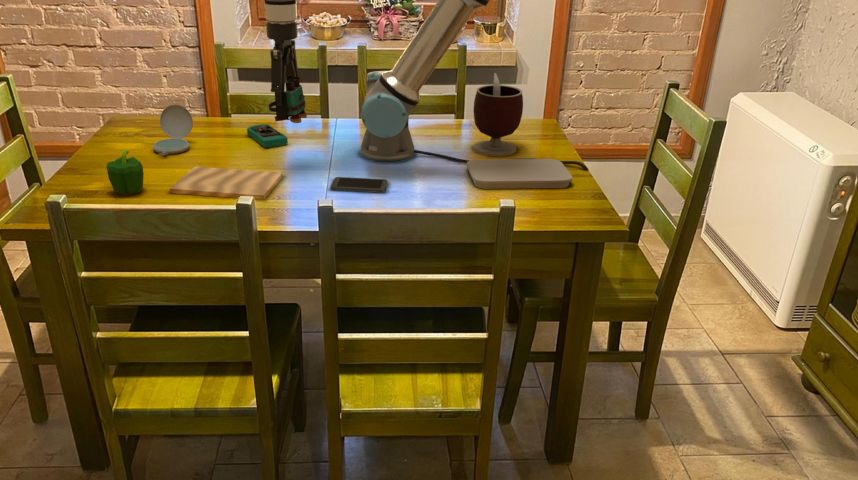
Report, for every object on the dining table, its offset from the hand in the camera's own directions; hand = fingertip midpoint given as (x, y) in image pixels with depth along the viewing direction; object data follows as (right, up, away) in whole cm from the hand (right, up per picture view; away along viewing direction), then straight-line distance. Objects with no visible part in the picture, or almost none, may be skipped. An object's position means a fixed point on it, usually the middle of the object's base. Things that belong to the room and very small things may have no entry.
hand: (287, 112), depth 191 cm
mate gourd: (+57, -5, +25) cm, 62 cm away
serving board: (-14, -19, -4) cm, 25 cm away
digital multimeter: (-10, -2, +27) cm, 29 cm away
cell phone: (+19, -19, -4) cm, 28 cm away
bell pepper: (-37, -22, -9) cm, 44 cm away
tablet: (+61, -17, +4) cm, 63 cm away
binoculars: (0, -2, +1) cm, 2 cm away
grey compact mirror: (-36, -7, +19) cm, 41 cm away
